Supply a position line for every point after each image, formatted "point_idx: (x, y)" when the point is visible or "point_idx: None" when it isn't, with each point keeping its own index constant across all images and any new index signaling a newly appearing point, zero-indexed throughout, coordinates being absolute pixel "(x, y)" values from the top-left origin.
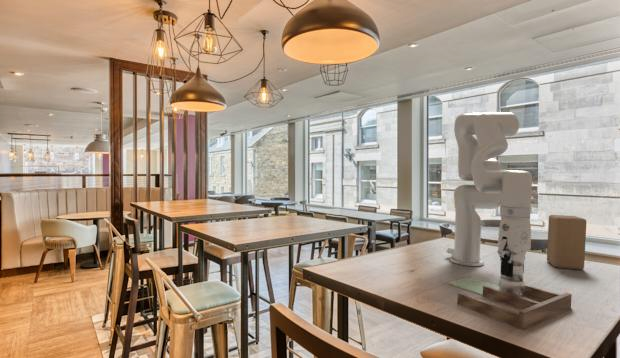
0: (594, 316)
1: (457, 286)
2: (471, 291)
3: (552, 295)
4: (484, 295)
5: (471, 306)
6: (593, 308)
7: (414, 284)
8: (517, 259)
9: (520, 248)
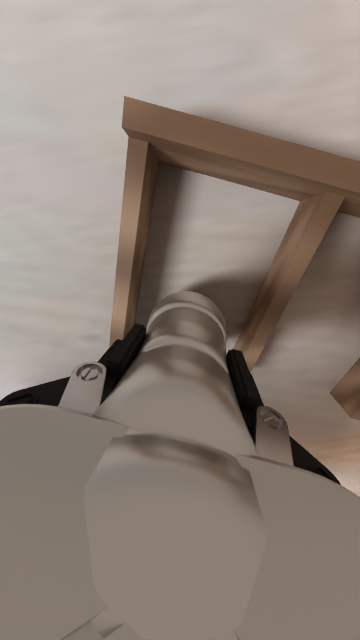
0: (171, 21)
1: None
2: None
3: (143, 199)
4: None
5: None
6: (68, 49)
7: None
8: (233, 403)
9: (283, 536)
